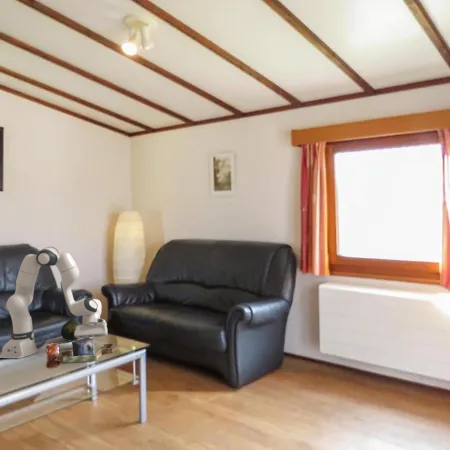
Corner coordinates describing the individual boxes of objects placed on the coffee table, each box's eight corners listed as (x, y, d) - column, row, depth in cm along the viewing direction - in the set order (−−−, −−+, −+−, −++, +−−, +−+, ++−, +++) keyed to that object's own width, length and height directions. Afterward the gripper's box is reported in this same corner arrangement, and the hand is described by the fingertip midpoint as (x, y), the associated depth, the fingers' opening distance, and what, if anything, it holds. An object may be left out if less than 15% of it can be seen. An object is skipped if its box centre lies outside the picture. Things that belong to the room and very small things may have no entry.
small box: (78, 361, 265) (76, 343, 264) (72, 359, 269) (71, 341, 269) (94, 355, 273) (92, 338, 272) (88, 353, 277) (86, 336, 277)
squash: (55, 336, 301) (69, 317, 303) (58, 331, 316) (72, 313, 317) (73, 348, 303) (87, 329, 305) (75, 342, 318) (89, 324, 320)
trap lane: (52, 363, 263) (52, 358, 263) (67, 349, 289) (67, 344, 288) (107, 359, 263) (107, 354, 263) (117, 345, 289) (117, 340, 288)
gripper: (74, 321, 289) (71, 341, 280) (106, 319, 289) (104, 339, 280) (77, 326, 294) (74, 346, 285) (109, 324, 294) (106, 344, 285)
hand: (89, 342), depth 282 cm, fingers closed
